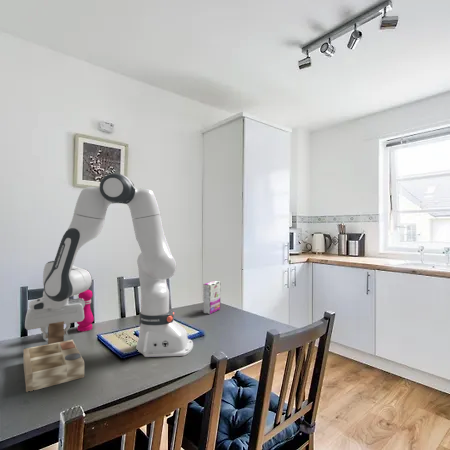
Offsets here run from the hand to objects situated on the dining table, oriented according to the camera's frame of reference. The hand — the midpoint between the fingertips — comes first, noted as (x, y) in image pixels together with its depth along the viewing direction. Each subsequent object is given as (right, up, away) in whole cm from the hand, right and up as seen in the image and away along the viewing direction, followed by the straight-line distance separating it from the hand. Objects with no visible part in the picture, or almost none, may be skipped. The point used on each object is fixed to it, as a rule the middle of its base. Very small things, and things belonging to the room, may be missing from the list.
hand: (55, 336), depth 117 cm
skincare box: (-7, -5, +10) cm, 14 cm away
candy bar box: (+59, -6, +53) cm, 80 cm away
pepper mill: (+1, -5, +22) cm, 22 cm away
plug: (0, -4, 0) cm, 4 cm away
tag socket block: (+9, -5, -17) cm, 20 cm away
